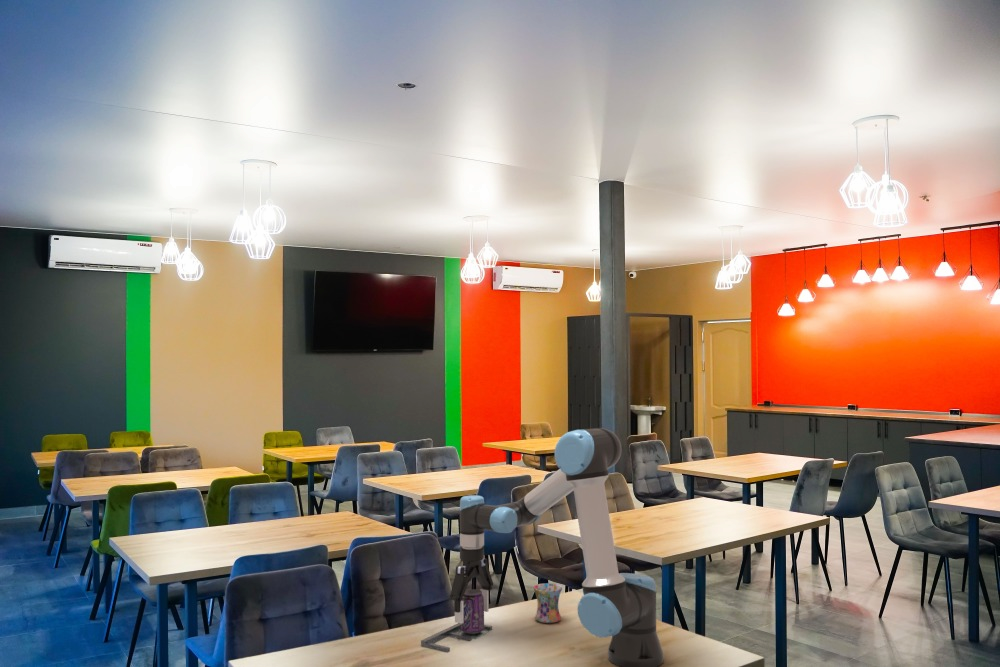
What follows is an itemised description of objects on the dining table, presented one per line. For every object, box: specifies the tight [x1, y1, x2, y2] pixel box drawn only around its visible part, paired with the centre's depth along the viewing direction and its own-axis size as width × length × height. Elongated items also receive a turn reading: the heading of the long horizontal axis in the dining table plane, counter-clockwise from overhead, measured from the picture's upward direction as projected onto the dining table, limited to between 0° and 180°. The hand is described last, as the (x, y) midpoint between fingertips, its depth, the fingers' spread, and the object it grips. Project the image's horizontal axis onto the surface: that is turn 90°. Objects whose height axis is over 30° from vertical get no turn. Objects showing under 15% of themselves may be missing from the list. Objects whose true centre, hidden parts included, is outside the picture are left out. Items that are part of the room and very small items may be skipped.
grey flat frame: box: [420, 623, 493, 653], centre depth 231 cm, size 10×23×2 cm, turn 147°
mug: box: [533, 582, 563, 624], centre depth 248 cm, size 12×9×11 cm
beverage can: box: [460, 588, 485, 634], centre depth 235 cm, size 7×7×12 cm
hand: (472, 616), depth 235 cm, fingers open, 13 cm apart
